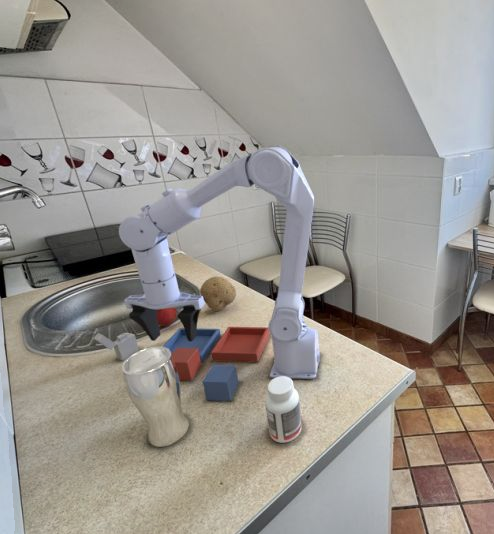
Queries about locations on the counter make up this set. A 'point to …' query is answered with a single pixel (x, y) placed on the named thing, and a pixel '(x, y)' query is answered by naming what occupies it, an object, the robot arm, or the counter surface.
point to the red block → (187, 362)
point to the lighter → (120, 344)
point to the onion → (166, 316)
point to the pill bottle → (283, 410)
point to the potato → (217, 293)
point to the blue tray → (195, 341)
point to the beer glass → (156, 394)
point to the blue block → (221, 382)
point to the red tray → (241, 344)
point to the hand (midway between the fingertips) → (174, 338)
